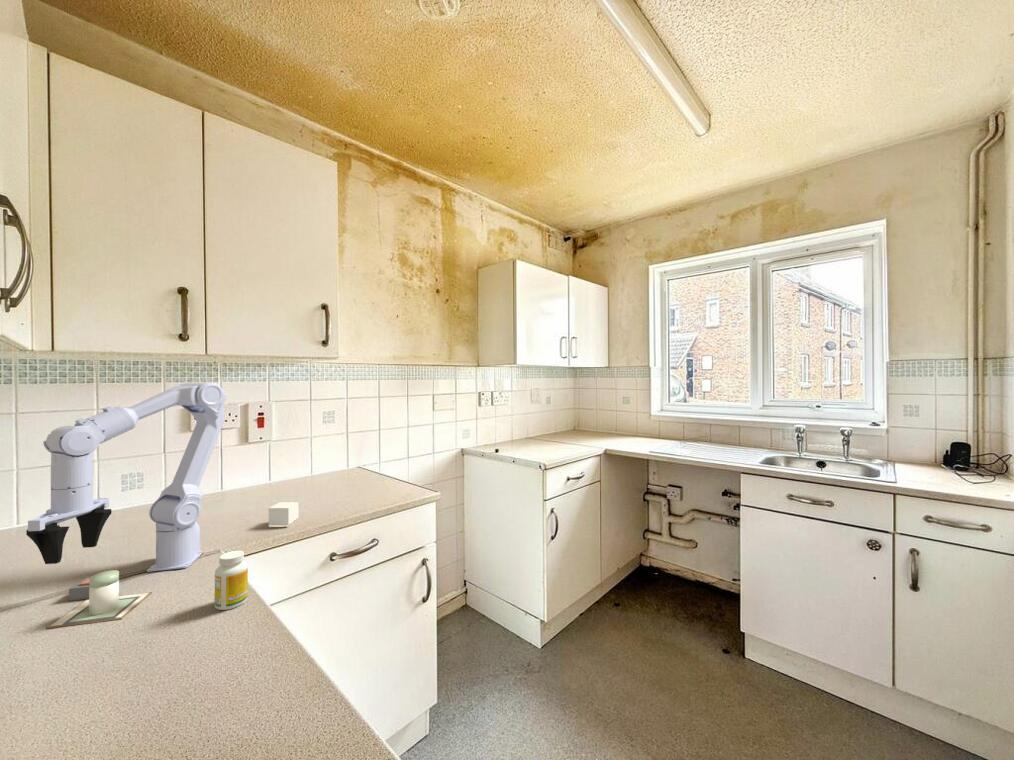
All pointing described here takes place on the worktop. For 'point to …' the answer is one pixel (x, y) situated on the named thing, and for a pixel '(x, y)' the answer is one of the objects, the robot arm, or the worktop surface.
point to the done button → (85, 583)
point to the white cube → (283, 513)
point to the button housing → (79, 591)
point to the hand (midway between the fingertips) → (72, 554)
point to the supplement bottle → (231, 581)
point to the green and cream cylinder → (103, 592)
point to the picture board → (83, 617)
